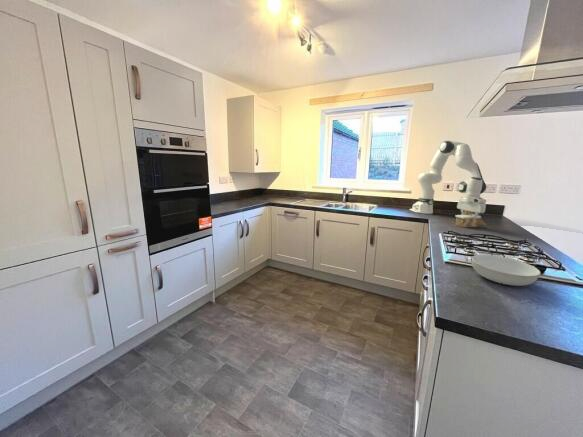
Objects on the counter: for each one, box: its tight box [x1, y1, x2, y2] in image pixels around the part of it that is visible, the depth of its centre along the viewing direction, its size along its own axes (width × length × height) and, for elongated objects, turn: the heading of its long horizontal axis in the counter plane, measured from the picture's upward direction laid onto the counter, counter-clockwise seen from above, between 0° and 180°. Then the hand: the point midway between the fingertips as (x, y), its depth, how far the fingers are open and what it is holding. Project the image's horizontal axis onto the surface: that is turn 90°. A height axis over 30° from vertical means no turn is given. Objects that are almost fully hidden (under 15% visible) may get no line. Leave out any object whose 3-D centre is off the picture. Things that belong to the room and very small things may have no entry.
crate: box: [454, 217, 480, 228], centre depth 185 cm, size 16×5×7 cm, turn 103°
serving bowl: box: [471, 254, 542, 287], centre depth 97 cm, size 21×21×7 cm
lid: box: [455, 214, 482, 219], centre depth 184 cm, size 17×7×2 cm, turn 103°
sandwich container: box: [464, 210, 487, 226], centre depth 194 cm, size 9×15×15 cm, turn 57°
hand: (468, 216), depth 183 cm, fingers open, 8 cm apart
